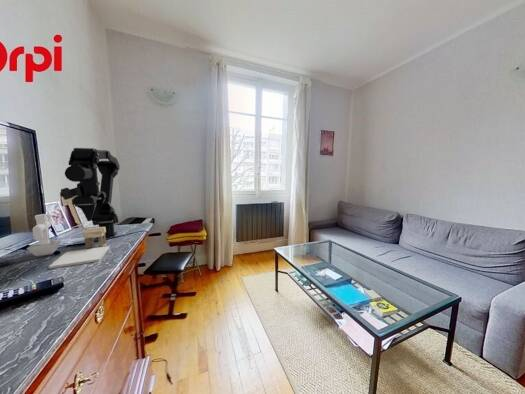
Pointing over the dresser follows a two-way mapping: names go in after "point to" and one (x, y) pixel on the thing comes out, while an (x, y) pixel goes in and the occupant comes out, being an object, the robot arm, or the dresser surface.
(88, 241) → the tan pegged block
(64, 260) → the mat
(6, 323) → the dresser surface
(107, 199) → the robot arm
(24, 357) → the dresser surface
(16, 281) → the dresser surface
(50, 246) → the figurine
